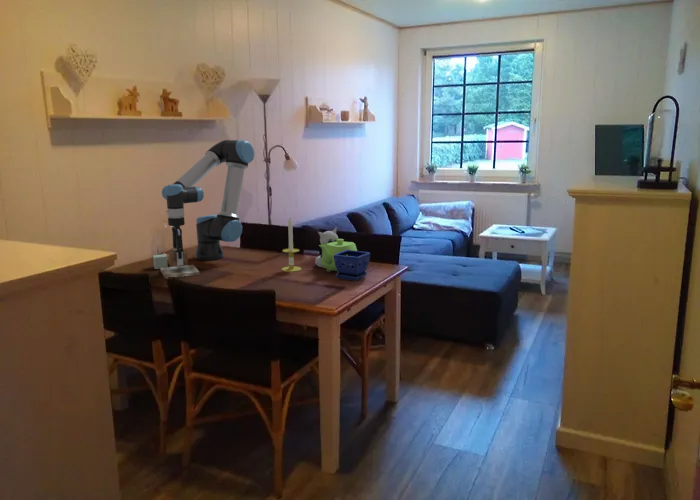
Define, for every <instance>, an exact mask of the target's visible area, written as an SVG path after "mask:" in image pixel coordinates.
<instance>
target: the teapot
mask: <svg viewBox="0 0 700 500" xmlns="http://www.w3.org/2000/svg"><path fill="white" fill-rule="evenodd" d="M344 240H345V239H343V238H338V239H337V242H331V243H328V244H326V245H325V244H324V243H323V244H321V243H320V244H319V245H318V246H319V247H320V249H321V254H322V260H321V263H322V265H323V267H324V268H323V269H326V272H328V273H330V272H333V271H336V272H337V273H339V272H338V271H337V269H336V266H335V262H334V255H335V254H337V253H339V252H342V251H345V250H353V251H358V249H357V245H356V243H354V242H353V241H344ZM346 256H348V254H346ZM337 273H336V274H337Z"/></svg>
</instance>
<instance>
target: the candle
mask: <svg viewBox="0 0 700 500" xmlns="http://www.w3.org/2000/svg"><path fill="white" fill-rule="evenodd" d="M287 223H288V229H287V230H288V232H287V233H288V248H283V249H282V252H283V253H286V254H288V266H283V267H281V271H282V272H286V273H294V272H300V271H302V268H301V267H300V266H295V263H294V262H295V254H294V253H298V252H300V249H299V248H294V234H293V233H294V232H293V230H294V229H293V226H294V225H293V220H292V217H291V216H289V218H288V221H287Z"/></svg>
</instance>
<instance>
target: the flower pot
mask: <svg viewBox="0 0 700 500" xmlns="http://www.w3.org/2000/svg"><path fill="white" fill-rule="evenodd" d="M346 254H348V256H346ZM370 259H371V252H368V251H362V250H361V251H360V250H357V251H353V250H345V251H342V252H339V253H337V254H335V255H334V262H335V266H336V269H337V271H338V272H339V273H335V276H336V278H337V279H340V280H348V281H353V282H356V281H358V280H361V279H363V278H364V277H366V275H368V272H367V271H366V270H367V269H368V267H369V263H370ZM337 271H336V272H337Z"/></svg>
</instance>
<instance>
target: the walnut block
mask: <svg viewBox="0 0 700 500" xmlns="http://www.w3.org/2000/svg"><path fill="white" fill-rule="evenodd" d="M176 251H177V250H176ZM168 261H169V262H168V263H169V267H176V266H177V253H176V252H175V251H174V250H168ZM186 265H189V264H188V252H187V249H183V265H179V266H186Z"/></svg>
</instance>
